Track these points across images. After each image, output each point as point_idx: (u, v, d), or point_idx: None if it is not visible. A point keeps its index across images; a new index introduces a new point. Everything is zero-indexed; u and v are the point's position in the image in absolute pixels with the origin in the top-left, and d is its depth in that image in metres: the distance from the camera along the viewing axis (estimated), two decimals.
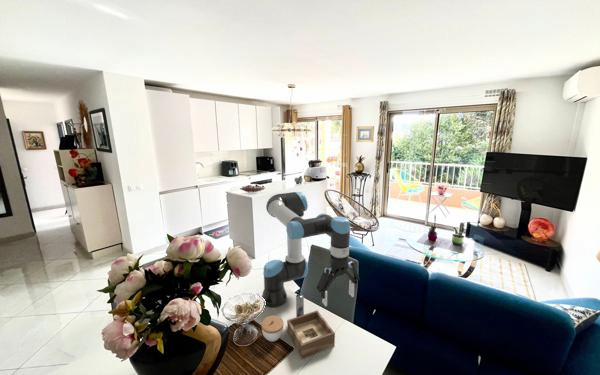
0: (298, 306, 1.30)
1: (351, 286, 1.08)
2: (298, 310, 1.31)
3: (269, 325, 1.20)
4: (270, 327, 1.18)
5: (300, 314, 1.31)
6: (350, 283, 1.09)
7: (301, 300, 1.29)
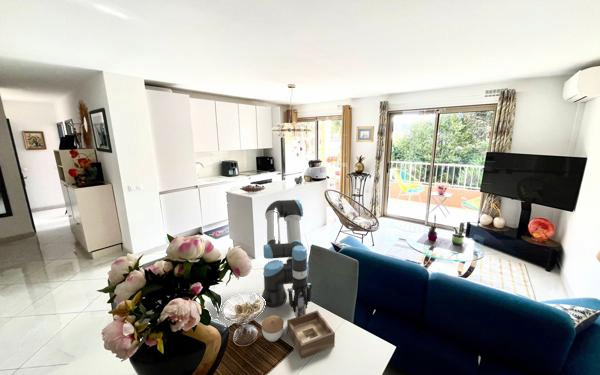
0: (298, 306, 1.30)
1: None
2: (298, 310, 1.31)
3: (269, 325, 1.20)
4: (270, 327, 1.18)
5: (300, 314, 1.31)
6: None
7: (301, 300, 1.30)
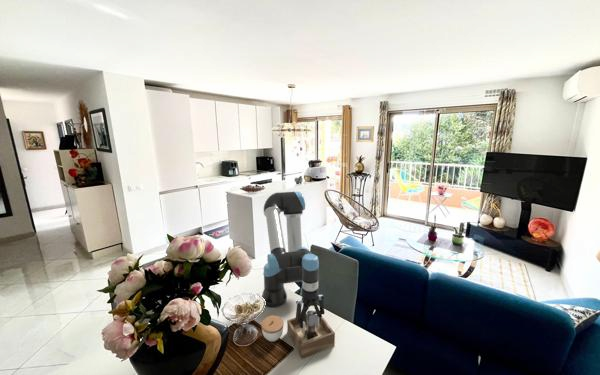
0: (309, 324, 1.18)
1: (316, 319, 1.20)
2: (309, 329, 1.18)
3: (269, 325, 1.20)
4: (270, 327, 1.18)
5: (311, 333, 1.18)
6: (316, 316, 1.21)
7: (312, 318, 1.17)
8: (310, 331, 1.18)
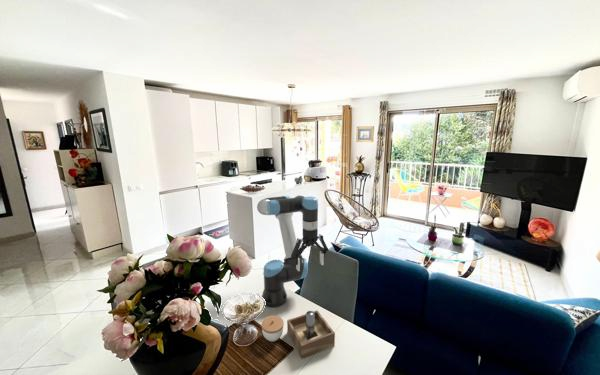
0: (308, 325, 1.17)
1: (321, 256, 1.29)
2: (308, 329, 1.18)
3: (269, 325, 1.20)
4: (270, 327, 1.18)
5: (311, 333, 1.18)
6: (320, 253, 1.30)
7: (311, 318, 1.17)
8: (310, 331, 1.18)
